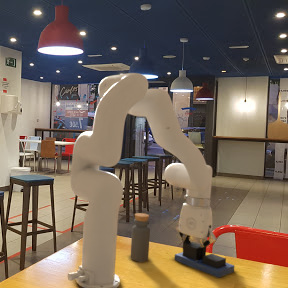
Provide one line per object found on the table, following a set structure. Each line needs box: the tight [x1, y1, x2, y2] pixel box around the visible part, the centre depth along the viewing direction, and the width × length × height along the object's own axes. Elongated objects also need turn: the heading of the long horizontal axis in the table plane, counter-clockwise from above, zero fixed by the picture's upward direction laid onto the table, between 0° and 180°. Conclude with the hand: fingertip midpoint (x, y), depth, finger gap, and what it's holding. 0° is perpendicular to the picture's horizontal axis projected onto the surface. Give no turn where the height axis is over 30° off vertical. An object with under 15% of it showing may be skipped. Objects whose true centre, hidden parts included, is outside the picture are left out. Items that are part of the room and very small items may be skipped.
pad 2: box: [203, 253, 227, 269], centre depth 120 cm, size 5×5×4 cm
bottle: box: [130, 212, 151, 263], centre depth 126 cm, size 6×6×15 cm
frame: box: [174, 251, 235, 279], centre depth 123 cm, size 9×16×2 cm, turn 37°
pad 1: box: [182, 241, 200, 261], centre depth 125 cm, size 5×5×4 cm
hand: (193, 254), depth 125 cm, fingers closed on pad 1, 5 cm apart
